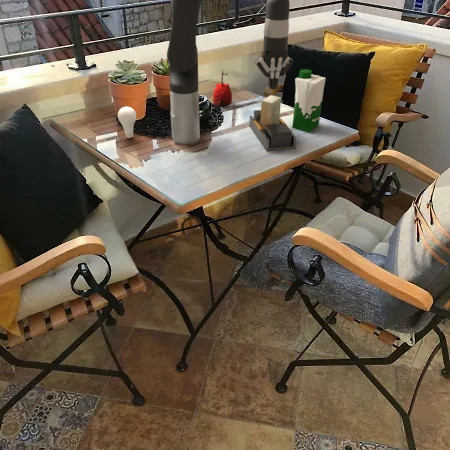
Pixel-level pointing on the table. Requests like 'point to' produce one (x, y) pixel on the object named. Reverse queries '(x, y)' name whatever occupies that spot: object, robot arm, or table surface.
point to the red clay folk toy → (222, 94)
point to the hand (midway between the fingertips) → (272, 88)
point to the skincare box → (270, 111)
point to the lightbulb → (127, 120)
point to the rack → (272, 134)
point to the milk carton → (308, 101)
